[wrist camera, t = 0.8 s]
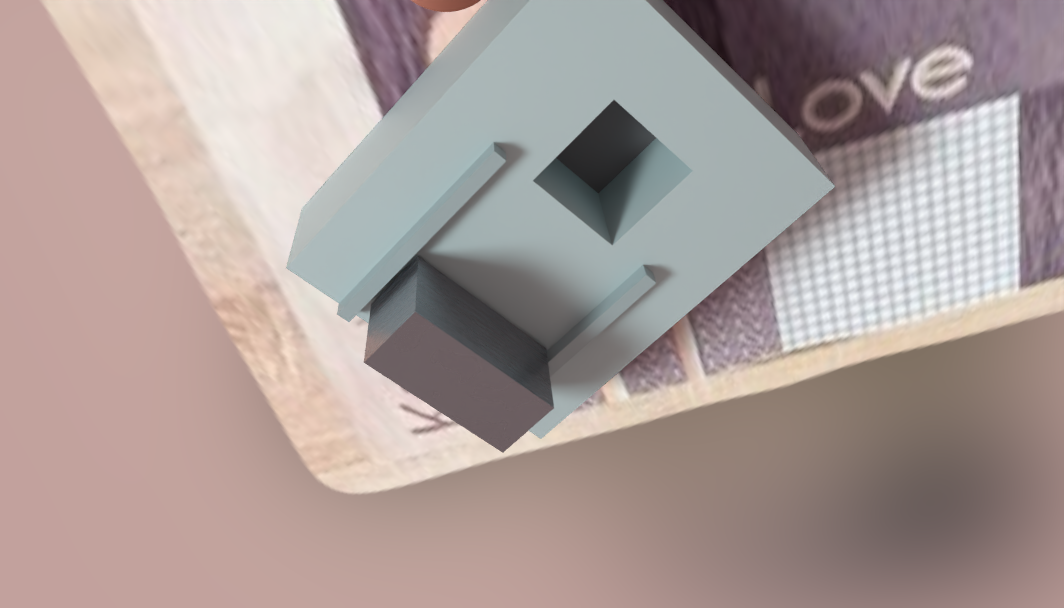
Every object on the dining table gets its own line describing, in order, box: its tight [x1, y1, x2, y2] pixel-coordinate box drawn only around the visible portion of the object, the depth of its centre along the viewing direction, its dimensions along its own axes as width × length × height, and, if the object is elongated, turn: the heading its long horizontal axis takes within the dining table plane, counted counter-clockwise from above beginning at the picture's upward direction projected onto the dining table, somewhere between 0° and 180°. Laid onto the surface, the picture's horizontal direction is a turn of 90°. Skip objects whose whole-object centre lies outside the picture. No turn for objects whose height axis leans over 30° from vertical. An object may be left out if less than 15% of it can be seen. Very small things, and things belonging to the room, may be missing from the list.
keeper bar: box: [364, 256, 554, 452], centre depth 40 cm, size 3×7×4 cm, turn 47°
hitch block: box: [286, 0, 835, 439], centre depth 41 cm, size 17×14×6 cm
